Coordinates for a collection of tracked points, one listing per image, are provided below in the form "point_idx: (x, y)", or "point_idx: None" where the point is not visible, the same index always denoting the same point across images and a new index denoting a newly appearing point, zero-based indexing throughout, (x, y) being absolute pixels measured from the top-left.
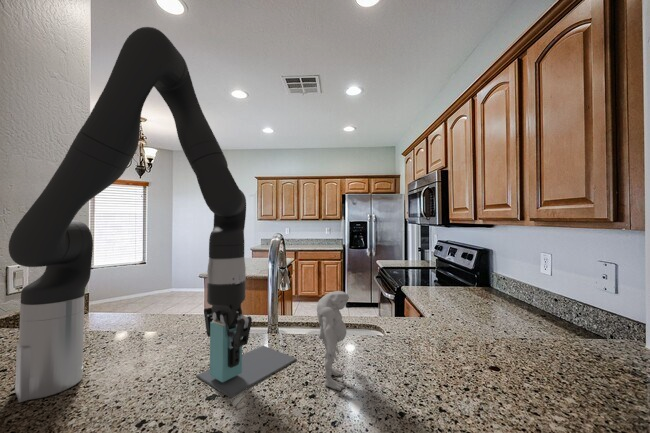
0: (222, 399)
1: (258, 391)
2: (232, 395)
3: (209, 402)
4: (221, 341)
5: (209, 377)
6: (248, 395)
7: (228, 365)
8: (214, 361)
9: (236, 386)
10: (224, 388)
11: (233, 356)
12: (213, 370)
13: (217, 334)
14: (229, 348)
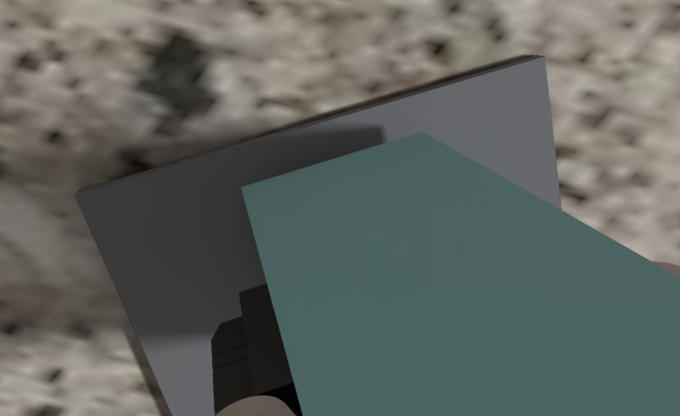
0: (96, 136)
1: (50, 374)
2: (83, 210)
3: (113, 42)
4: (332, 374)
5: (440, 131)
6: (38, 305)
7: (258, 288)
8: (399, 191)
9: (179, 265)
10: (209, 185)
11: (217, 380)
12: (385, 161)
13: (491, 387)
14: (251, 402)
